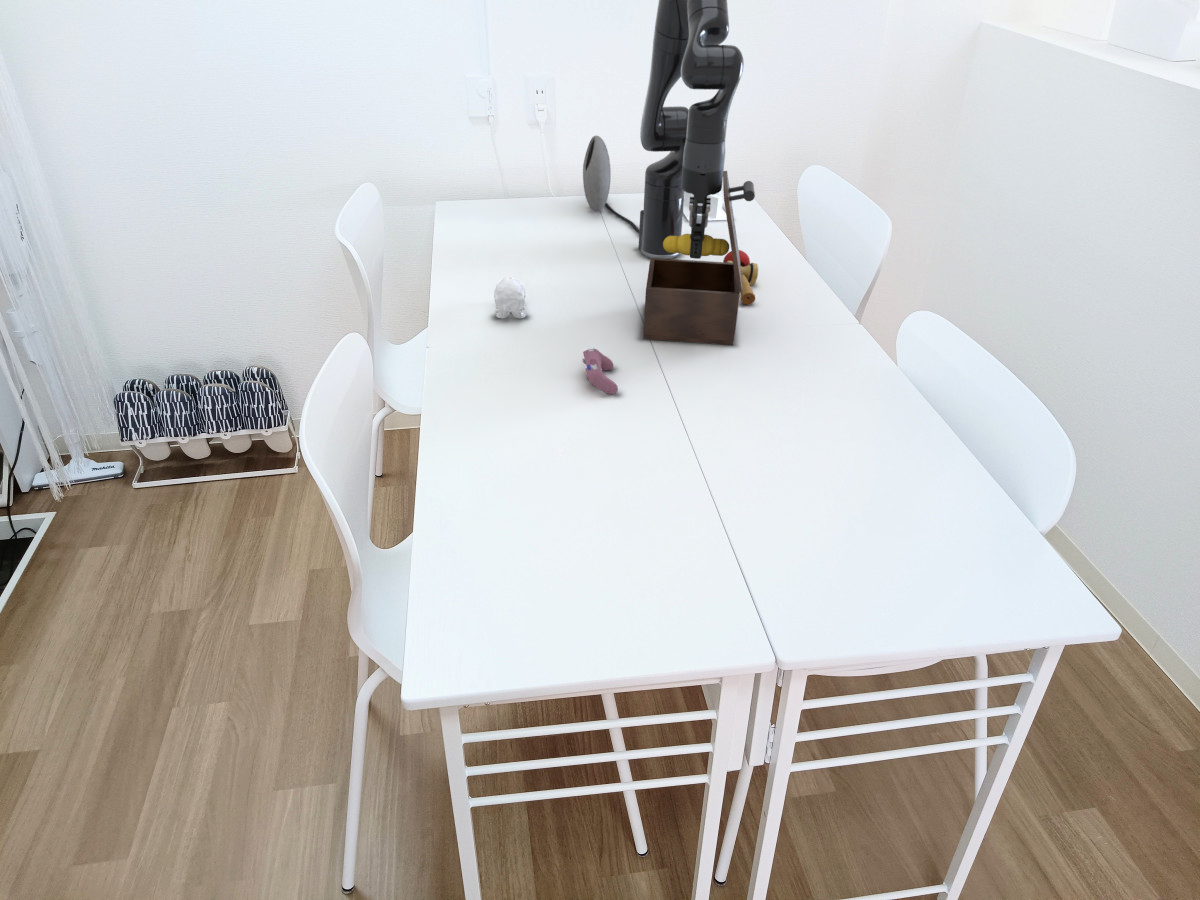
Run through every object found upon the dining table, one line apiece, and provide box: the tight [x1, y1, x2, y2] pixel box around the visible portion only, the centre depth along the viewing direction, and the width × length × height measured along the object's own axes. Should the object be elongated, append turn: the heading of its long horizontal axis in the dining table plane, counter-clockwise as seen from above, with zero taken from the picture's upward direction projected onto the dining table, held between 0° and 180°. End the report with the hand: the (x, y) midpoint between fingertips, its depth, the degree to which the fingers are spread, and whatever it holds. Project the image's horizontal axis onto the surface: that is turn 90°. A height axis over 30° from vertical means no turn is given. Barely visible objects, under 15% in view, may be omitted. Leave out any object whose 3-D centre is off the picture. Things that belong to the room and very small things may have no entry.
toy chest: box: [642, 258, 741, 346], centre depth 174 cm, size 18×15×11 cm
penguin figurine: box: [493, 276, 527, 319], centre depth 178 cm, size 6×8×12 cm
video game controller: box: [582, 347, 619, 395], centre depth 156 cm, size 10×5×7 cm, turn 5°
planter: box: [582, 135, 612, 213], centre depth 224 cm, size 18×7×19 cm, turn 3°
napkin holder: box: [683, 192, 727, 222], centre depth 229 cm, size 15×11×6 cm
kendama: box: [722, 249, 759, 306], centre depth 191 cm, size 8×6×18 cm
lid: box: [722, 170, 756, 292], centre depth 164 cm, size 19×15×5 cm
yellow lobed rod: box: [663, 233, 730, 257], centre depth 167 cm, size 13×4×4 cm, turn 84°
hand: (695, 252), depth 168 cm, fingers closed on yellow lobed rod, 4 cm apart
